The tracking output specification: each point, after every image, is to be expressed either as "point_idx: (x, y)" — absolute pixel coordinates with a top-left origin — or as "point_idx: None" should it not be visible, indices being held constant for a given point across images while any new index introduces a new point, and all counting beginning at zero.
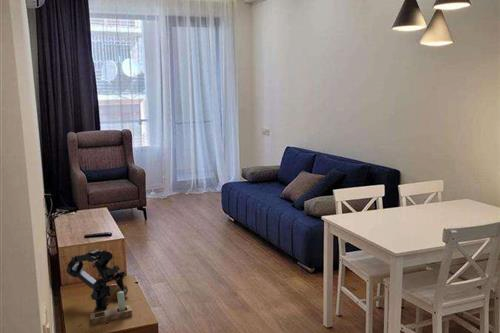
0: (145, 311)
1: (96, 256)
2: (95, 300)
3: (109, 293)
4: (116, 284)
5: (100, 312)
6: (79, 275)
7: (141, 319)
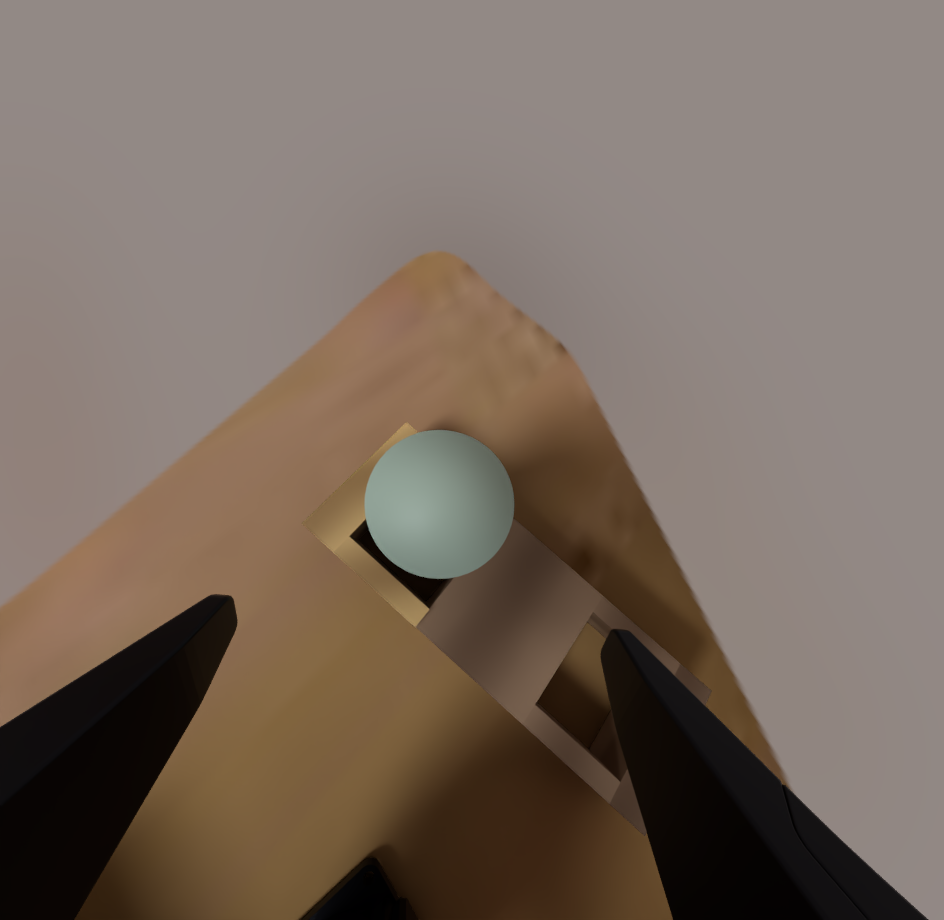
0: (297, 385)
1: None
2: None
3: (647, 666)
4: None
5: (566, 734)
6: None
7: (431, 337)
